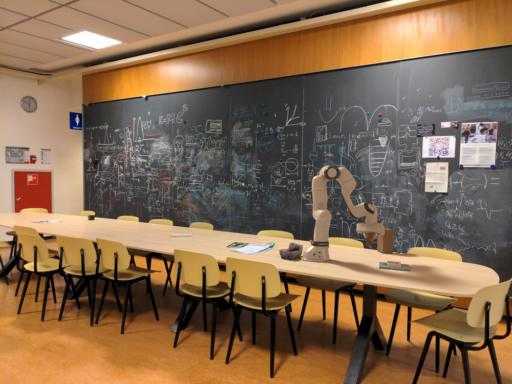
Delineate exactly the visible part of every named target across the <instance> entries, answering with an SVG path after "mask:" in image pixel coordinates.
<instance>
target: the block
mask: <svg viewBox="0 0 512 384" xmlns="http://www.w3.org/2000/svg"><path fill="white" fill-rule="evenodd" d="M384 229H385V234H384V235H377V243H376V244H377V245H376V250H377V252H379V253H381V254H393V253H394V241H395V240H394V239H395V230H394V229H393V228H388V227H384Z"/></svg>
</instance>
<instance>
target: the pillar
mask: <svg viewBox="0 0 512 384" xmlns="http://www.w3.org/2000/svg"><path fill="white" fill-rule="evenodd" d="M365 235H366V238H365V245H366V246H374V239H373V238H374V236H375V235H374V232H367V234H365Z"/></svg>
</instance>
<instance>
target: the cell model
mask: <svg viewBox="0 0 512 384" xmlns="http://www.w3.org/2000/svg"><path fill="white" fill-rule="evenodd" d="M303 248H304V245H303V244H300V243H297V242H293V241H292V242H290V243H289V244H288V248H281V249H279V250H278V251H279V256H280V258H282V259H285V260H295V259H296V258H300V256H303V252H304V250H303Z"/></svg>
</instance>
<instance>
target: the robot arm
mask: <svg viewBox="0 0 512 384" xmlns="http://www.w3.org/2000/svg"><path fill="white" fill-rule="evenodd" d="M333 180H337V182H338V183H339V185H340V187H341V191H340V194H341V196H342V197H341V198H342V199H343V201H344V204H345V206H346V208H347V211H348V215H349V217H350V218H352V219H353V220H358V219H360V218H362V217H365V220H364V222H357V223H356V233H357V234H360V235H361V234H362V235H363V236H364V237H363V238H364V239H366V234H367V232H374V238H373V240H376V238H378V235H384V234H385V229H384V228H385V226H384V222H383V220H379V219H378V214H379V213H378V208H377V206H376V205H374V204H373V203H372V204H371V203H370V202H368V201H364V202H361V203H359V204H357V205H354V204H353V201H352V199H351V197H350V195H351V194H352V193H353V191H354V190H355V189H356V186H357V183H356V179H355V177H354V176H353V175H352V173H351V172H350V171H349V170H348V169H347V167H345V166H340V167H336V166H334V165H330V164H329V165H324V166H322V167H321V168H320V169H319V172H318V174H317V175H315V176H313V178H312V179H311V193H312V194H311V195H312V217H313V219H314V220H315V225H314V229H313V240H311V239H309V243H310V245H309V246H308V247H307V248H305V249H304V250H303V252H302V255H301V256H299V258H300V260H301V261H303V262H305V261H306V262H322V263H323V262H327V261H330V260H331V258H330V251H329V248H330V241H329V238H330V236H329V233H330V226H331V222H332V221H331V220H332V217H333V216H332V213H331V212H330V211H329V210H328V200H329V197H328V189H327V188H328V187H327V182H328V181H333Z"/></svg>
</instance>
